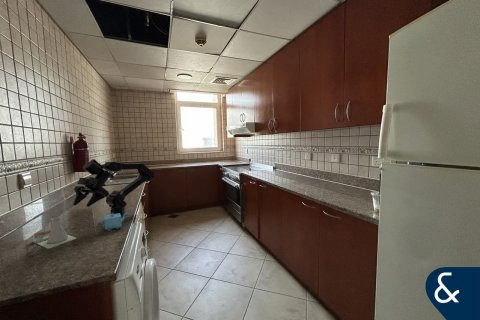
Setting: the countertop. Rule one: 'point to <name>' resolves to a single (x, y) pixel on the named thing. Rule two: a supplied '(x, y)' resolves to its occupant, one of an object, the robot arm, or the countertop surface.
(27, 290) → the countertop surface
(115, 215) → the teapot
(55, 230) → the flask
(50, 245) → the pad
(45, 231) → the rod
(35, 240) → the cradle
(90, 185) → the robot arm
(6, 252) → the countertop surface
